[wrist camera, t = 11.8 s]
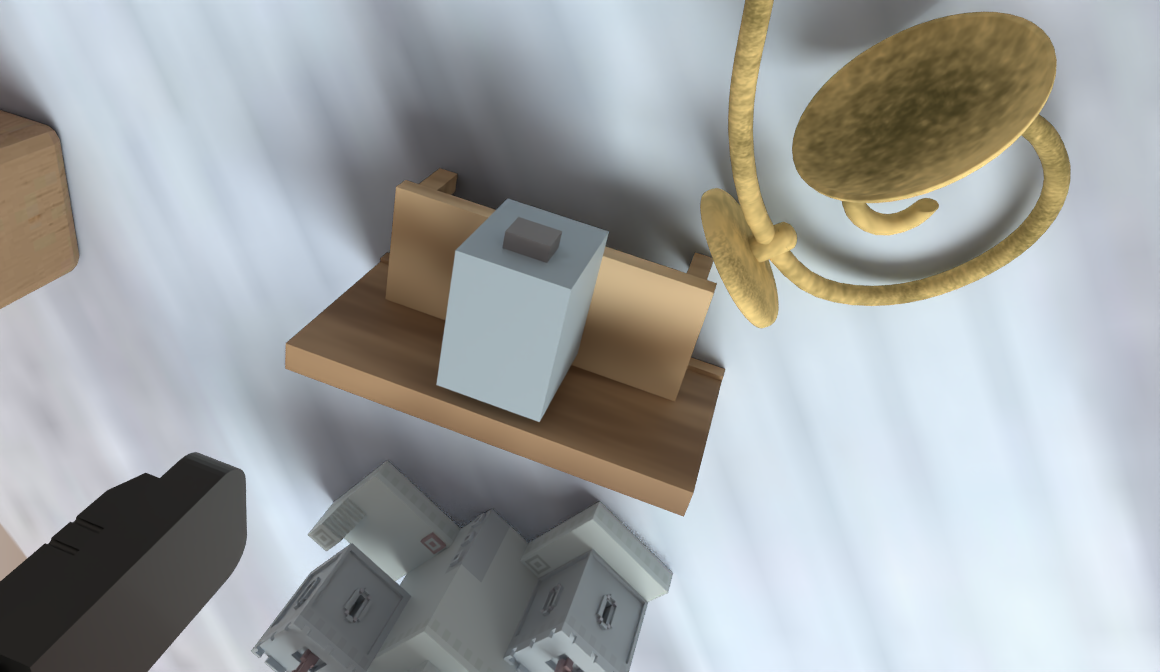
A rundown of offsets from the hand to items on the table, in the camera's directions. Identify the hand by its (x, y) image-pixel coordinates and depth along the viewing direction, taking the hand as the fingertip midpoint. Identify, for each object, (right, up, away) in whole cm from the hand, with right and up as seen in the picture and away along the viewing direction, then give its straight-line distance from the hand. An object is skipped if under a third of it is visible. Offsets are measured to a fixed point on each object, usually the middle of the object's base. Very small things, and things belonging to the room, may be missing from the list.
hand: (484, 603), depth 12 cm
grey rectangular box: (0, +7, +28) cm, 29 cm away
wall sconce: (+18, +6, +26) cm, 32 cm away
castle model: (-4, -10, +44) cm, 45 cm away
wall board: (0, +6, +33) cm, 33 cm away
